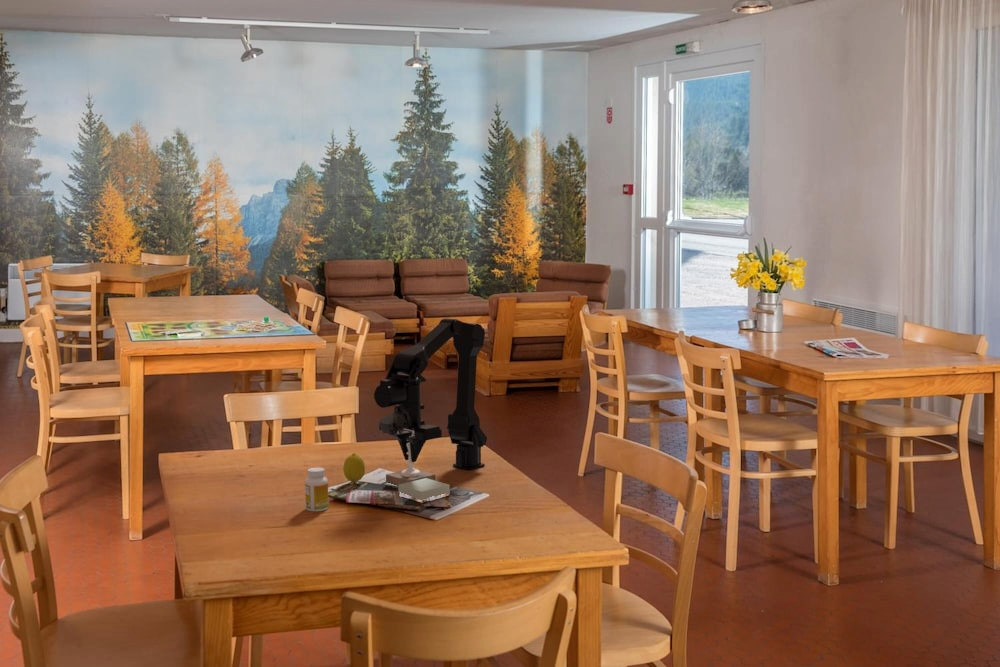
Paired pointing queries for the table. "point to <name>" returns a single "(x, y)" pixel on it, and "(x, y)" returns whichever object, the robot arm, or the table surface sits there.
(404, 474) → the chess piece
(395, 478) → the walnut slab
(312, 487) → the supplement bottle
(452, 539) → the table surface
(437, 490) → the sage slab
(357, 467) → the lemon
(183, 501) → the table surface
